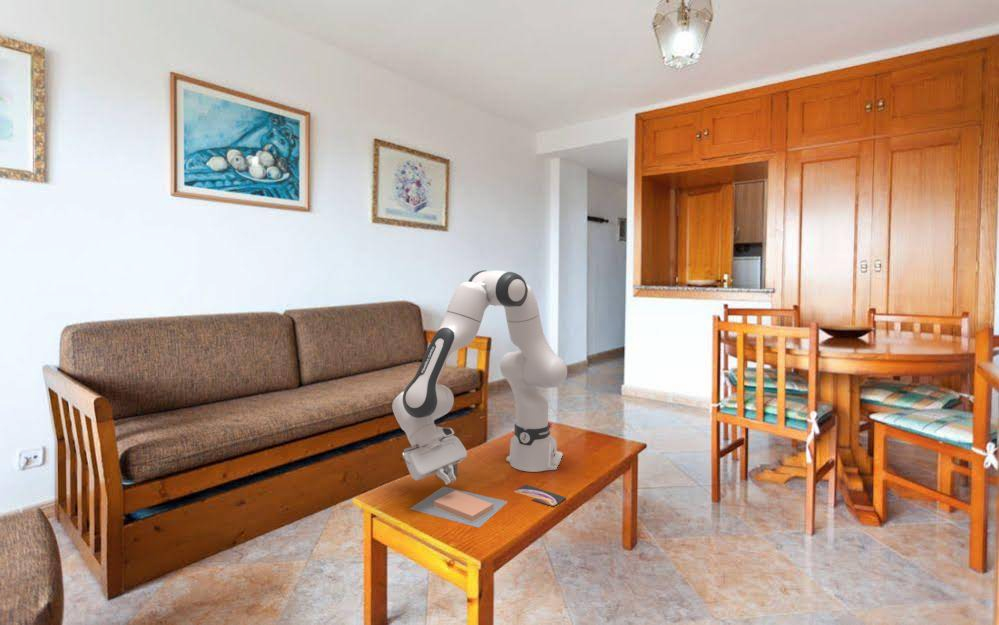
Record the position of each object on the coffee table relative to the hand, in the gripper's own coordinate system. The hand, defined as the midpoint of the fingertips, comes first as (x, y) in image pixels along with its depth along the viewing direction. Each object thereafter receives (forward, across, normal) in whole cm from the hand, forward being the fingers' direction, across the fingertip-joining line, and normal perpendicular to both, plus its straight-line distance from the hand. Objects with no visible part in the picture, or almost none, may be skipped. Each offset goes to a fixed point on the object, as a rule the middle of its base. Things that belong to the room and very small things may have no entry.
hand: (451, 482), depth 140 cm
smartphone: (+17, +21, -6) cm, 27 cm away
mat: (+6, +1, +3) cm, 7 cm away
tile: (+2, 0, +6) cm, 6 cm away
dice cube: (-6, +14, +16) cm, 22 cm away
